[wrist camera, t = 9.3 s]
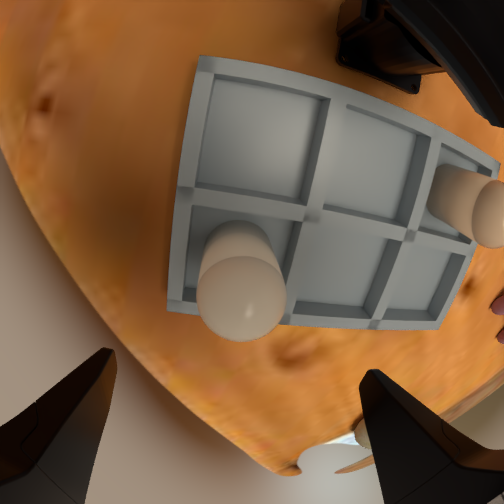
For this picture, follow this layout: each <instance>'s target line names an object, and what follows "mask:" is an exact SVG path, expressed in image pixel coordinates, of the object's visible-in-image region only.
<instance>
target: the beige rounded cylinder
mask: <svg viewBox="0 0 504 504" xmlns="http://www.w3.org/2000/svg"><path fill="white" fill-rule="evenodd" d="M426 206H427V209H428V211H429V212H430V214H431V215H432V216H434V217H435V218H437V219H439V220H440V221H442V222H444V223H445V224H447V225H449V226H450V227H452V228H454V229H455V230H457V231H459V232H460V233H462V234H464V235H465V236H467V237H468V238H470V239H472V240H473V241H475V242H476V243H478V244H479V245H481V246H483V247H486V248H490V249H497V248H501V247H504V183H503V182H501V181H499V180H496V179H494V178H491V177H488V176H485V175H482V174H480V173H477V172H474V171H470V170H467V169H464V168H461V167H458V166H455V165H451V164H442V165H440V166H438V167H437V168H436V169H435V173H434V177H433V181H432V184H431V188H430V192H429V195H428V199H427V202H426Z"/></svg>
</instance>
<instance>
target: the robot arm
mask: <svg viewBox="0 0 504 504" xmlns="http://www.w3.org/2000/svg"><path fill="white" fill-rule="evenodd" d="M336 34H337V35H338V37H339V43H338V48H337V54H336V61H337V63H338V64H339V65H341V66H343V67H346V68H349V69H352V70H354V71H357V72H360V73H363V74H365V75H368V76H370V77H373V78H375V79H378V80H380V81H383V82H385V83H387V84H390V85H392V86H394V87H396V88H399V89H401V90H403V91H405V92H407V93H409V94H417V93H418V92H419V89H420V83H421V75H427V74H434V73H442V72H447V74H448V75H449V76H450V77H451V79H452V80H453V81H454V82H455V84H456V85H457V86H458V88H459V89H460V90H461V92H462V93H463V95H464V96H465V97H466V99H467V100H468V101H469V103H470V104H471V106H472V107H473V109H474V110H475V112H477V113H478V114H479V115H481V116H482V117H484V118H485V119H487V120H488V121H489V123H490V124H491V125H492V126H497V127H501V128H504V0H345V2H344V3H343V4H341V6H340V11H339V17H338V23H337V29H336ZM342 56H344V57H345V58H346V60H347V61H346V62H344V61H343V60H342ZM411 86H413V87H414V90H412V88H411ZM116 374H117V362H116V356H115V351H114V350H113V349H109V348H105V347H103V348H101V349H100V350H98V351H97V352H96V353H95V354H93V355H92V356H91V357H90V358H88V359H87V360H86V361H84V362H83V363H82V364H81V365H79V366H78V367H77V368H76V369H74V370H73V371H72V372H71V373H69V374H68V375H67V376H66V377H65V378H63V379H62V380H61V381H60V382H58V383H57V384H56V385H55V386H53V387H52V388H51V389H50V390H48V391H47V392H46V393H45V394H43V395H42V396H41V397H40V398H39V399H37V400H36V403H35V402H34V403H33V404H31V405H30V406H29V407H28V408H26V409H25V410H24V411H22V412H21V413H20V414H19V415H17V416H16V417H14V418H13V419H11V420H10V421H8V422H7V423H5V424H4V425H2V426H0V504H84V503H85V499H86V494H87V489H88V485H89V481H90V477H91V473H92V469H93V465H94V461H95V458H96V454H97V450H98V447H99V443H100V440H101V436H102V433H103V429H104V426H105V423H106V419H107V416H108V413H109V409H110V404H111V399H112V394H113V389H114V383H115V379H116ZM359 392H360V398H361V404H362V410H363V417H364V422H365V426H366V430H367V434H368V437H369V441H370V445H371V449H372V453H373V457H374V461H375V465H376V469H377V473H378V477H379V482H380V486H381V490H382V495H383V500H384V504H504V450H492V449H487V448H485V447H483V446H481V445H480V444H478V443H477V442H475V441H473V440H472V439H470V438H469V437H467V436H465V435H464V434H462V433H461V432H459V431H458V430H456V429H455V428H454V427H452V426H451V425H449V424H448V423H447V422H445V421H444V420H443V419H441V418H440V417H439V416H438V415H436V414H435V413H434V412H433V411H431V410H430V409H429V408H427V407H426V406H425V405H424V404H422V403H421V402H420V401H418V400H417V399H416V398H415V397H413V396H412V395H411V394H409V393H408V392H407V391H406V390H404V389H403V388H402V387H401V386H399V385H398V384H397V383H395V382H394V381H393V380H392V379H390V378H389V377H388V376H387V375H385V374H384V373H383V372H382V371H380V370H379V369H370V370H368V371H367V372H366V374H365V376H364V377H363V379H362V381H361V382H360V385H359Z"/></svg>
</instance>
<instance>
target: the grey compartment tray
mask: <svg viewBox="0 0 504 504" xmlns="http://www.w3.org/2000/svg"><path fill="white" fill-rule="evenodd" d="M442 164H451V165H455V166H458V167H461V168H464V169H467V170H470V171H474V172H477V173H480V174H482V175H485V176H488V177H491V178H494V179H496V180H497V178H498V174H499V169H500V164H501V163H499V162H498V161H496V160H495V159H494V158H492V157H491V156H489V155H487V154H486V153H484V152H483V151H481V150H480V149H478V148H476V147H475V146H473V145H472V144H470V143H468V142H466V141H465V140H463V139H461V138H460V137H458V136H456V135H454V134H453V133H451V132H449V131H447V130H445V129H443V128H441V127H440V126H438V125H436V124H434V123H432V122H430V121H428V120H426V119H424V118H422V117H420V116H417V115H415V114H413V113H411V112H409V111H407V110H404V109H402V108H400V107H398V106H395V105H393V104H391V103H388V102H386V101H383V100H381V99H378V98H376V97H373V96H371V95H368V94H365V93H362V92H360V91H357V90H354V89H351V88H348V87H345V86H342V85H339V84H336V83H333V82H330V81H327V80H323V79H320V78H316V77H313V76H309V75H305V74H302V73H298V72H294V71H290V70H286V69H281V68H277V67H272V66H267V65H263V64H257V63H252V62H246V61H240V60H234V59H227V58H220V57H212V56H204V55H200V56H199V61H198V65H197V70H196V74H195V79H194V84H193V89H192V94H191V99H190V104H189V110H188V115H187V121H186V127H185V133H184V139H183V145H182V152H181V158H180V165H179V173H178V180H177V188H176V197H175V205H174V215H173V225H172V235H171V247H170V260H169V275H168V292H167V311H171V312H178V313H185V314H192V315H199V316H200V314H199V311H198V307H197V302H196V291H197V285H198V279H199V273H200V267H201V261H202V255H203V249H204V244H205V241H206V239H207V237H208V235H209V234H210V232H211V231H212V230H213V229H214V228H216V227H217V226H219V225H220V224H222V223H224V222H227V221H232V220H245V221H249V222H252V223H254V224H256V225H257V226H259V227H260V228H261V229H262V230H264V232H265V233H266V234H267V236H268V238H269V240H270V242H271V245H272V248H273V251H274V254H275V256H276V259H277V262H278V265H279V268H280V271H281V273H282V276H283V279H284V282H285V286H286V290H287V304H286V309H285V312H284V314H283V317H282V318H281V320H280V322H279V323H278V324H282V325H295V326H309V327H325V328H345V329H372V330H438V329H439V327H440V325H441V324H442V322H443V320H444V318H445V316H446V314H447V312H448V310H449V308H450V306H451V304H452V302H453V300H454V298H455V296H456V294H457V292H458V290H459V288H460V285H461V283H462V281H463V279H464V276H465V274H466V272H467V269H468V267H469V265H470V262H471V260H472V257H473V255H474V252H475V249H476V247H477V244H478V243H476V242H475V241H473V240H472V239H470V238H468V237H467V236H465V235H464V234H462V233H460V232H459V231H457V230H455V229H454V228H452V227H450V226H449V225H447V224H445V223H444V222H442V221H440V220H439V219H437V218H435V217H434V216H432V215H431V214H430V212H429V211H428V209H427V206H426V202H427V199H428V195H429V192H430V188H431V184H432V181H433V177H434V173H435V169H436V168H437V167H438V166H440V165H442Z"/></svg>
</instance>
